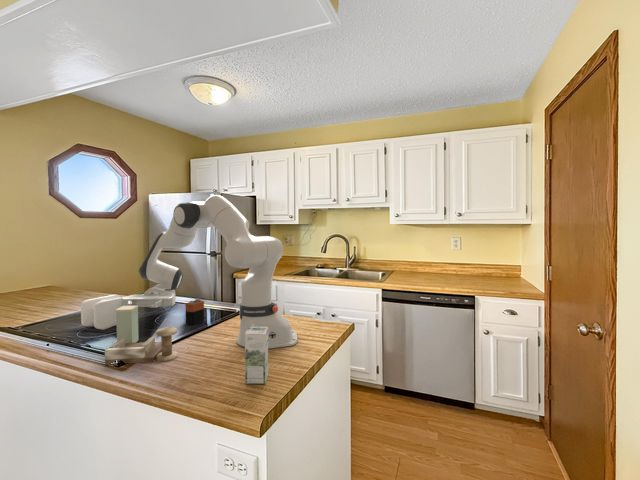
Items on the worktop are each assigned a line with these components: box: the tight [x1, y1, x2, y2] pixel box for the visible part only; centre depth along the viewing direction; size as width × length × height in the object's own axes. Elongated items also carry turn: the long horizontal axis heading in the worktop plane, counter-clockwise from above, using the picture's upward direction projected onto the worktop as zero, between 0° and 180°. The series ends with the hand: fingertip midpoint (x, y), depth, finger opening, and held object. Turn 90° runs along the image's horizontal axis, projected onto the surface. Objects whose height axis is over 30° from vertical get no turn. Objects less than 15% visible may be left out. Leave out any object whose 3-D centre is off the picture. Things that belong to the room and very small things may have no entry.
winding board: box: [104, 336, 162, 366], centre depth 102 cm, size 14×13×4 cm
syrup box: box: [244, 327, 269, 385], centre depth 86 cm, size 6×6×14 cm
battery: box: [185, 298, 205, 326], centre depth 134 cm, size 4×7×10 cm, turn 155°
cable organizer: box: [80, 294, 126, 331], centre depth 130 cm, size 15×11×12 cm
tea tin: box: [116, 305, 139, 343], centre depth 111 cm, size 5×5×13 cm
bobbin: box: [155, 326, 178, 362], centre depth 100 cm, size 6×6×9 cm
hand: (141, 305), depth 123 cm, fingers open, 8 cm apart
